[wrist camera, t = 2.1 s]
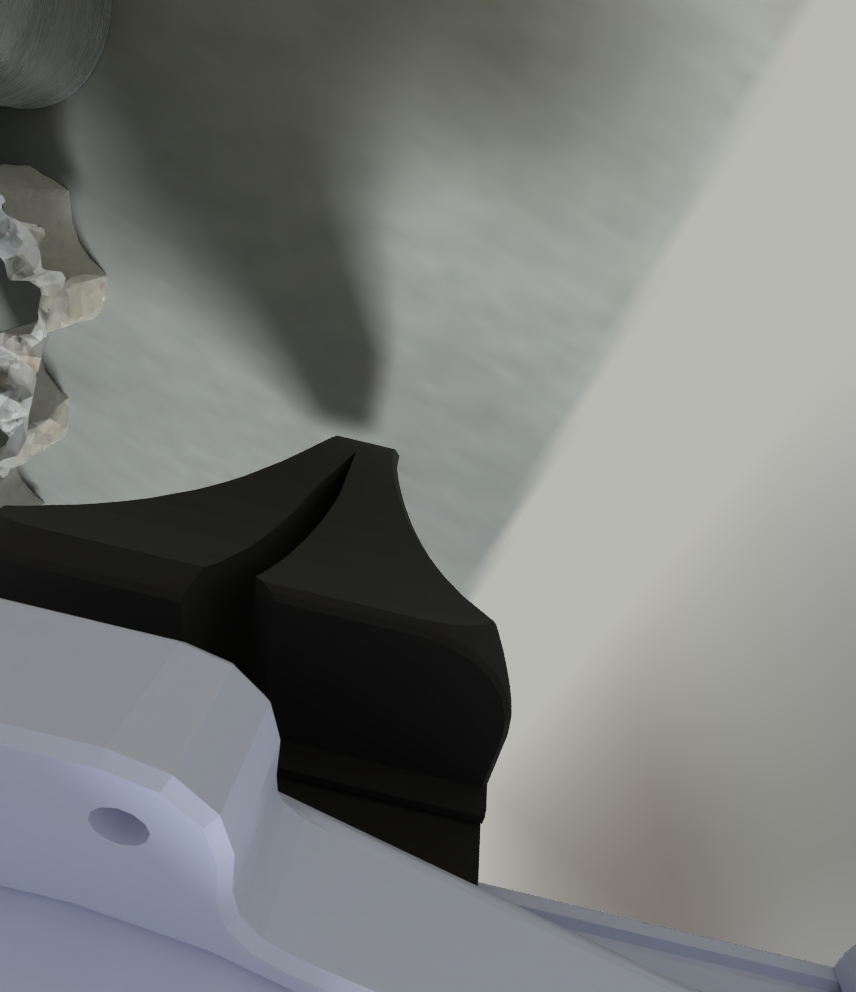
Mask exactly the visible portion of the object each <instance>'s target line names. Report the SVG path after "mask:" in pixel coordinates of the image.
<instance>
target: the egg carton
mask: <svg viewBox="0 0 856 992" xmlns="http://www.w3.org/2000/svg"><path fill="white" fill-rule="evenodd" d="M0 258H1V259H2V260H3V262H4V263H5V268H6V273H7V278H8V279H9V280H17V281H29V282H31V283H33V284H34V285H36V286H37V287H39V288H40V291H41V299H40V302H39V308H38V316H39V319H38V321H36V322H33V323H30V324H27V325H23V326H20V327H16V328H12V329H8V330H4V331H1V332H0V429H1V430H2V431H3V432H4V433H5V434H7V435H8V437H9V439H8V441H7V443H6V445H5V446H3V447H1V448H0V508H1V507H3V506H5V505H12V506H31V505H45V503H44V502H43V501H42V500H41V499H39V498H38V497H37V496H36V495H34V493H33V492H32V491H31V490H30V489H29V488H28V486H27V485H26V484H25V483H24V482H23V481H22V479H21V476H20V474H19V472H18V470H17V466H19V465H22V464H24V463H25V462H26V461H27V460H28V459H29V458H30V457H31V456H33V455H35V454H37V453H39V452H40V451H42V450H44V449H46V448H47V447H48V446H49V445H51V444H53V443H56V442H58V441H59V440H60V439H62V438H63V437H64V436H65V435H66V432H67V418H68V404H69V398H68V397H67V396H66V395H65V394H64V393H62V391H61V390H60V389H59V388H58V387H57V386H56V385H55V383H54V382H53V381H52V379H51V378H50V377H49V375H48V374H47V373H46V370H45V368H44V365H43V362H42V358H41V357H42V354H43V351H44V348H45V346H46V343H47V340H48V333H49V332H51V331H54V330H57V329H60V328H63V327H67V326H71V325H73V324H74V323H76V322H79V321H87V320H93V319H95V318H97V317H98V315H99V312H100V309H101V308H102V306H103V304H104V299H105V296H106V287H107V275H106V274H105V273H104V272H103V271H102V269H101V268H100V267H99V266H98V265H97V264H96V263H95V262H93V261H92V260H91V259H90V257H89V256H88V255H87V253H86V252H85V250H84V249H83V247H82V246H81V244H80V242H79V240H78V237H77V234H76V231H75V228H74V225H73V219H72V211H71V201H70V196H69V191H68V190H67V189H66V188H64V187H63V186H61V185H60V184H58V183H57V182H56V181H54V180H52V179H50V178H49V177H47V176H45V175H43V174H41V173H39V172H38V171H37V170H35V169H34V168H32V167H30V166H29V165H19V166H17V165H9V164H2V165H0Z"/></svg>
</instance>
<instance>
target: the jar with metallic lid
mask: <svg viewBox="0 0 856 992" xmlns="http://www.w3.org/2000/svg"><path fill="white" fill-rule="evenodd" d="M111 11H112V0H0V106H6V107H13V108H20V109H36V108H42V107H47V106H51V105H53V104H56V103H59V102H61V101H63V100H65V99H66V98H68V97H69V96H71V95H73V94H74V93H75V92H76V91H77V90H78V89H79V88H81V87H82V86H83V85H84V84H85V82H86V81H87V80H88V78H89V77H90V76H91V74H92V73H93V71H94V70H95V68H96V66H97V64H98V62H99V60H100V58H101V55H102V53H103V50H104V47H105V44H106V41H107V37H108V32H109V28H110V21H111Z"/></svg>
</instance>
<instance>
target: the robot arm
mask: <svg viewBox="0 0 856 992" xmlns="http://www.w3.org/2000/svg"><path fill="white" fill-rule="evenodd" d="M398 459H399V455H398V453H397V452H396V450H395V449H391V448H387V447H383V446H378V445H374V444H370V443H366V442H361V441H357V440H353V439H349V438H345V437H340V436H335V437H332V438H330V439H328V440H326V441H324V442H321V443H319V444H317V445H315V446H313V447H311V448H309V449H307V450H305V451H303V452H301V453H299V454H297V455H295V456H292V457H290V458H288V459H286V460H284V461H282V462H279V463H277V464H274V465H272V466H269V467H266V468H264V469H261V470H259V471H256V472H254V473H251V474H249V475H246V476H243V477H240V478H237V479H234V480H231V481H228V482H224V483H220V484H217V485H213V486H209V487H205V488H201V489H197V490H192V491H187V492H181V493H176V494H170V495H165V496H159V497H154V498H147V499H139V500H131V501H122V502H110V503H98V504H81V505H31V506H12V505H5V506H3V507H1V508H0V992H856V945H854V946H852V947H851V948H850V949H849V950H848V951H846V952H845V953H844V954H843V956H842V957H841V958H840V959H839V960H838V962H837V963H836V965H835V966H834V967H830V966H826V965H822V964H818V963H813V962H809V961H805V960H801V959H797V958H792V957H788V956H784V955H780V954H776V953H772V952H767V951H763V950H759V949H755V948H751V947H746V946H742V945H738V944H734V943H730V942H726V941H722V940H717V939H713V938H709V937H704V936H701V935H697V934H692V933H688V932H684V931H680V930H676V929H671V928H667V927H663V926H659V925H655V924H651V923H647V922H642V921H638V920H634V919H630V918H626V917H621V916H617V915H613V914H608V913H605V912H601V911H596V910H592V909H588V908H584V907H580V906H576V905H571V904H567V903H563V902H559V901H555V900H551V899H546V898H542V897H538V896H534V895H530V894H525V893H521V892H517V891H513V890H508V889H505V888H501V887H496V886H492V885H488V884H484V883H479V882H478V870H479V844H480V823H481V824H482V822H483V820H484V818H485V812H486V796H487V783H488V780H489V778H490V776H491V773H492V771H493V768H494V766H495V764H496V761H497V759H498V756H499V754H500V751H501V749H502V746H503V744H504V742H505V740H506V737H507V734H508V730H509V725H510V720H511V693H510V685H509V678H508V673H507V667H506V662H505V657H504V652H503V648H502V644H501V640H500V637H499V633H498V630H497V626H496V624H495V623H494V621H493V620H491V619H490V618H489V617H488V616H486V615H485V614H484V613H483V612H482V611H480V610H479V609H478V608H477V607H475V606H474V605H473V604H472V603H471V602H469V601H468V600H467V599H466V598H465V597H463V596H462V595H461V594H460V593H459V592H458V591H457V590H456V589H455V587H454V586H453V585H452V584H451V583H450V582H449V581H448V580H447V579H446V578H445V577H444V576H443V575H442V573H441V572H440V571H439V569H438V568H437V567H436V566H435V564H434V563H433V562H432V560H431V559H430V558H429V556H428V554H427V553H426V551H425V549H424V548H423V546H422V544H421V542H420V540H419V539H418V537H417V535H416V533H415V531H414V528H413V526H412V524H411V521H410V519H409V516H408V513H407V511H406V508H405V505H404V502H403V498H402V494H401V490H400V486H399V481H398V473H397V464H398Z"/></svg>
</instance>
